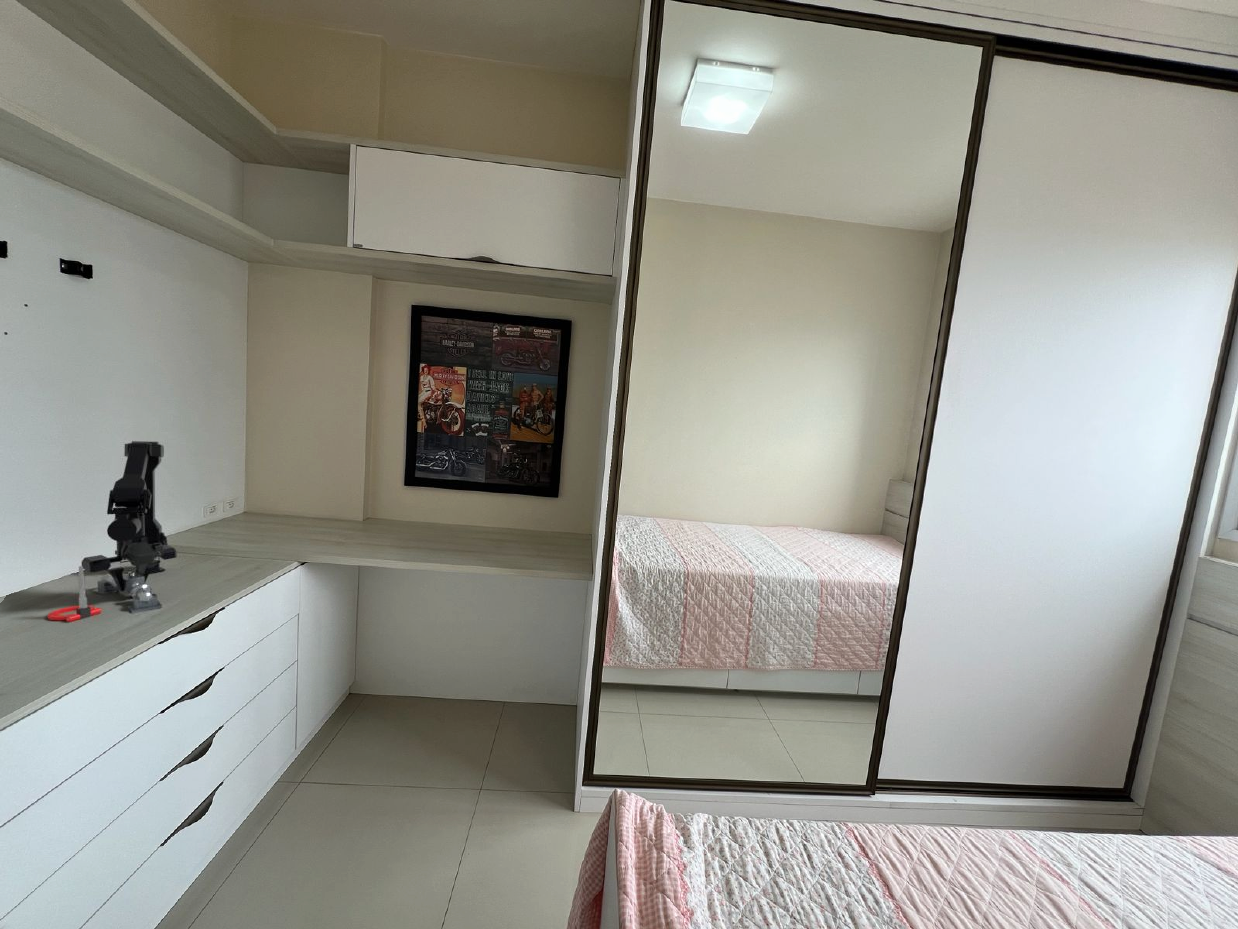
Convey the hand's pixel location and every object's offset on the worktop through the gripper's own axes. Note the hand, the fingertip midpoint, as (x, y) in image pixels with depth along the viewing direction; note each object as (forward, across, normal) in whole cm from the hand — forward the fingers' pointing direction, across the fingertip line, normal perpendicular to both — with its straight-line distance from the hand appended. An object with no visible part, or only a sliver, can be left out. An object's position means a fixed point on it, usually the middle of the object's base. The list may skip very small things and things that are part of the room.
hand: (131, 588), depth 154 cm
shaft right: (+2, -1, -8) cm, 9 cm away
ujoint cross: (+1, 0, 0) cm, 1 cm away
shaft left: (+2, -1, +8) cm, 8 cm away
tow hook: (+3, -13, -3) cm, 14 cm away
